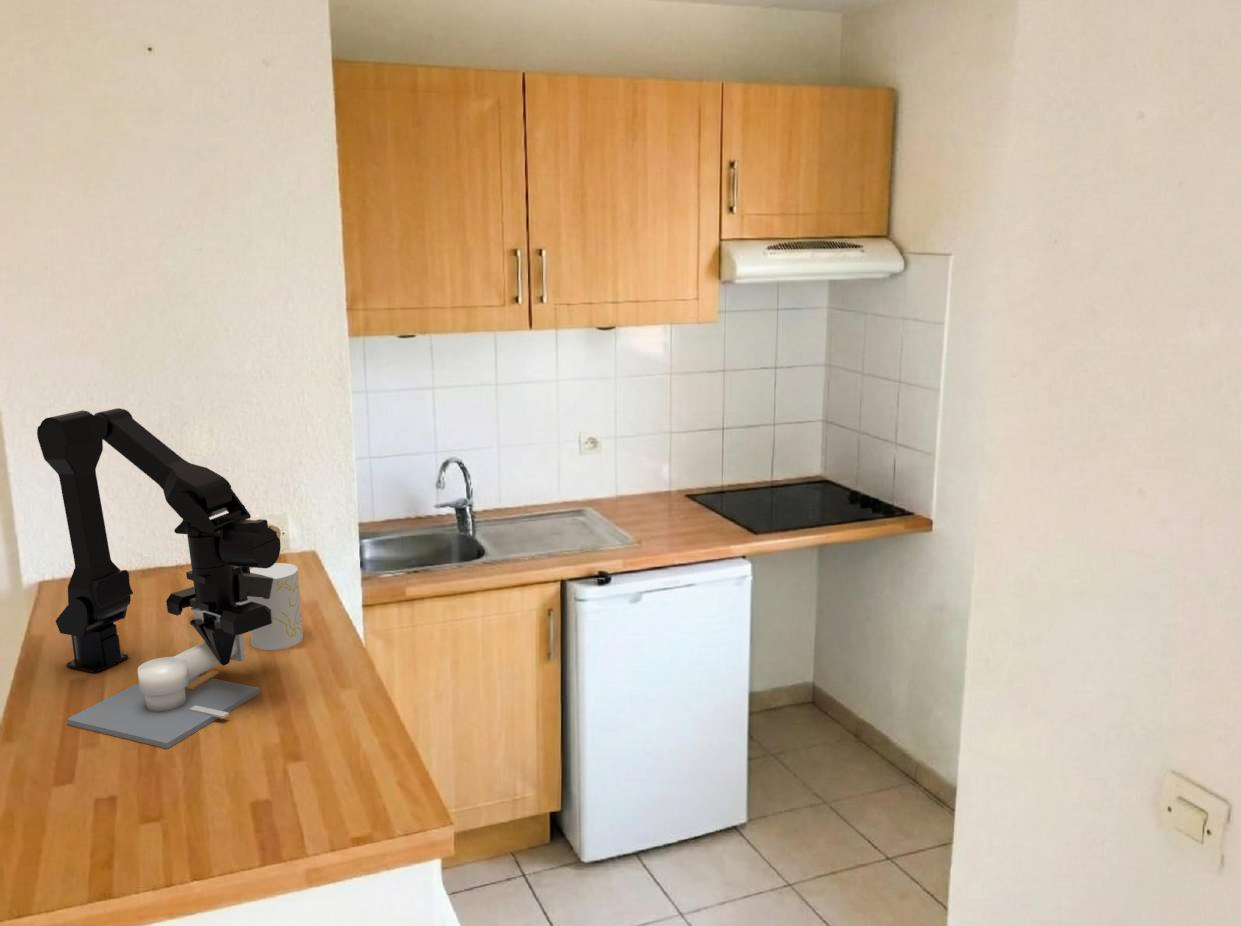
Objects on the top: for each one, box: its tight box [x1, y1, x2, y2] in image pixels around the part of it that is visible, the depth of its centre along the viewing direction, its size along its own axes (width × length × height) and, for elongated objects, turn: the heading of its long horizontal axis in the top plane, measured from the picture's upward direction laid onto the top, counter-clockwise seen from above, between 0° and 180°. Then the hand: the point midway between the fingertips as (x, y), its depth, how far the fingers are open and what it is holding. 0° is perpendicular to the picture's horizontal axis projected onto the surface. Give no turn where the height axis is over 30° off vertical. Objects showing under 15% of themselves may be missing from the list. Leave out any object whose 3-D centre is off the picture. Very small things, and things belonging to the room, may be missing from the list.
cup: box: [247, 562, 304, 651], centre depth 176 cm, size 8×8×12 cm
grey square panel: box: [66, 669, 261, 749], centre depth 154 cm, size 20×20×3 cm
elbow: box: [137, 634, 246, 696], centre depth 157 cm, size 17×6×5 cm, turn 157°
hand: (225, 664), depth 159 cm, fingers closed
